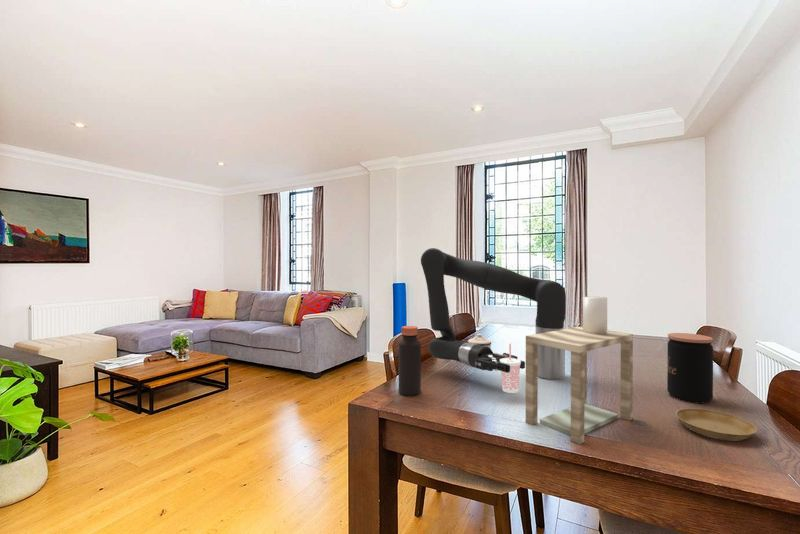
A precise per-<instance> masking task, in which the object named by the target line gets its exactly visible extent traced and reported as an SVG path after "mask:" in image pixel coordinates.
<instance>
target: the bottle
mask: <svg viewBox="0 0 800 534" xmlns="http://www.w3.org/2000/svg"><path fill="white" fill-rule="evenodd" d="M418 331H419V329H418V327H417V326H415V325H404V326H401V337H402V339H401V340H400V341H399V342H398V393H399V394H400V393H401V394H400V395H402V394H403V396H407V395H409V396H408V397H410V396H411V397H412V395H413V396H417V395H420V393H421V392H422V390H421V389H422V387H421V386H422V383H421V382H422V379H421V378H422V377H421V376H422V375H421V374H422V373H421V372H422V370H421V369H422V367H421V366H422V364H421V361H422V360H421V358H422V357H421V356H422V353H421V350H422V349H421V348H422V347H421V342H420V341H419V340H418V339H417V337H418Z"/></svg>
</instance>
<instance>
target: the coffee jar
mask: <svg viewBox="0 0 800 534" xmlns="http://www.w3.org/2000/svg"><path fill="white" fill-rule="evenodd" d="M667 338H668V340H669V341H667V365H666V366H667V372H666V373H667V376H666V377H667V379H666V380H667V382H666V383H667V386H666V387H667V391H666V392H667V393H669V395H670V396H671V397H672V396H673V397H672V398H674V397H675V398H674V399H676V398H678V399H677V400H679V399H680V400H679V401H682V400H684V401H683V402H686V401H690V402H689V403H692V402H698V403H697V404H706V403H705V402H708V403H710V402H711V401H712V400H713V398H714V347H713V345H712V343H713V342H714V338H713V337H711V336H708V335H703V334H697V333H689V332H688V333H687V332H670V333H667ZM709 401H710V402H709ZM702 402H704V403H702Z"/></svg>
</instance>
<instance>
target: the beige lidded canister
mask: <svg viewBox="0 0 800 534" xmlns="http://www.w3.org/2000/svg"><path fill="white" fill-rule="evenodd" d="M467 343H474V344H478V345H482V346H487V347H489V348H490V349H491V350H492V348H491V346H492V345H491V344H492V342H491V340H490V339H487V338H486V337H483V334H481V333H477V334H476V336H474V337H473V338H469V339H468V340H467Z"/></svg>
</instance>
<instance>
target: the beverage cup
mask: <svg viewBox="0 0 800 534" xmlns="http://www.w3.org/2000/svg"><path fill="white" fill-rule="evenodd" d="M508 345H509V346H508V347H509V349H508V350H509V352H508V354H509V358H502V359H500V362H501V363H504V364H508V365H510V372H509V373H506V372H503V371H500V373H501V375H500V376H501V387H502V389H501V390H502V391H503V393H504V392H505V393H509V394H516V393H519V389H520V388H519V387H520V371H521V368H520V364H521V361H522V360H521V359H518V358H517V359H515V358H511V355H512V343H509V344H508ZM520 360H521V361H520Z"/></svg>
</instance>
